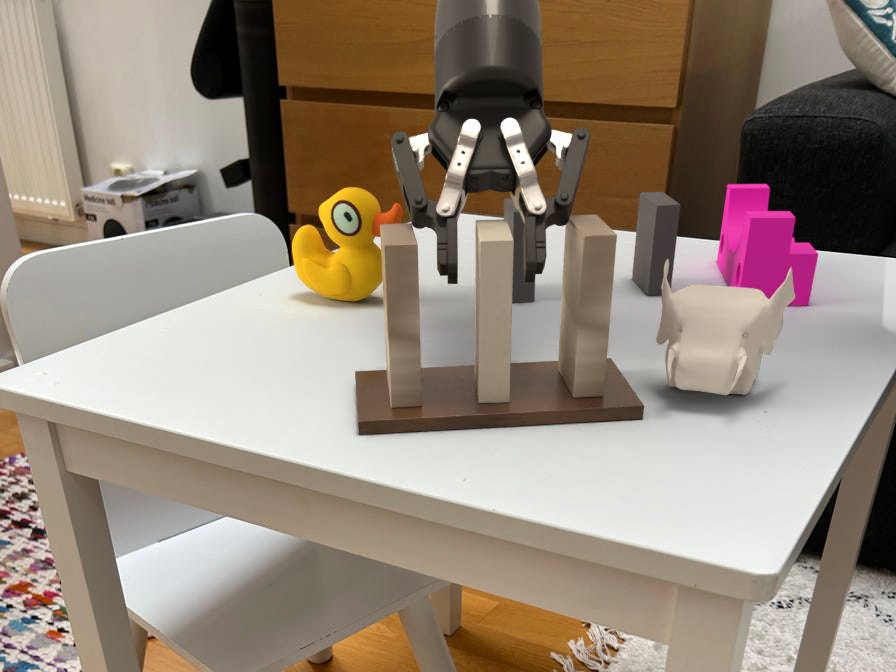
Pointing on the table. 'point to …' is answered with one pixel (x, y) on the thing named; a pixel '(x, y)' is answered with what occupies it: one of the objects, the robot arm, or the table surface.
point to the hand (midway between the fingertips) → (491, 276)
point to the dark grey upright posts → (650, 245)
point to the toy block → (762, 245)
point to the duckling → (344, 246)
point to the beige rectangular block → (493, 309)
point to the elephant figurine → (719, 334)
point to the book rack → (531, 383)
